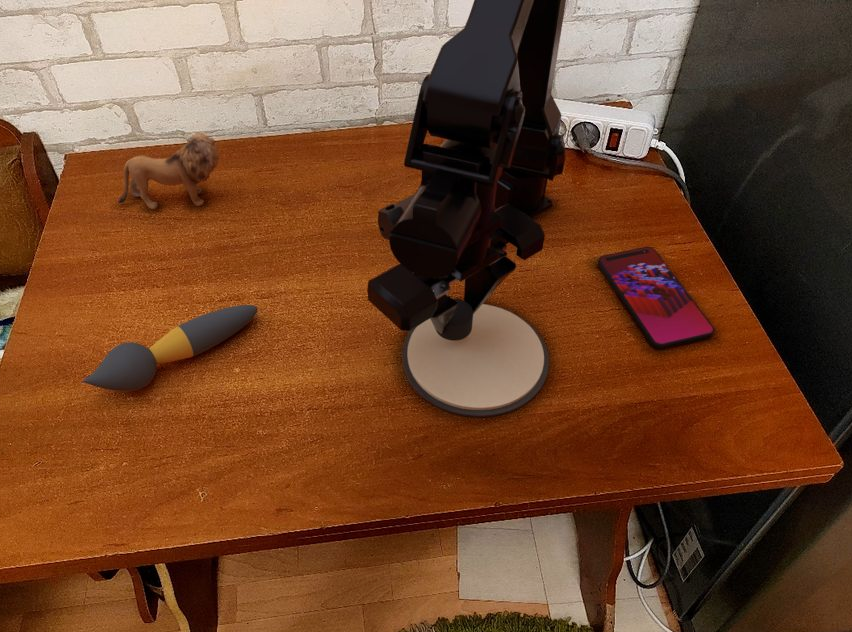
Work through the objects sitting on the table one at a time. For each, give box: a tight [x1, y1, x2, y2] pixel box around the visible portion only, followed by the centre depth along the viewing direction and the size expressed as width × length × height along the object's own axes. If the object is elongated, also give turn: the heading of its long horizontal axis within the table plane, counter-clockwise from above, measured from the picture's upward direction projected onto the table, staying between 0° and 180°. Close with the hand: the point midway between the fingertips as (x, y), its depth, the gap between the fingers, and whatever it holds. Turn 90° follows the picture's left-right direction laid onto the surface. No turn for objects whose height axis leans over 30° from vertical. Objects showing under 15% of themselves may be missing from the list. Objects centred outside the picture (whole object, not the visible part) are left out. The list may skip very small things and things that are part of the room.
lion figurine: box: [117, 132, 220, 210], centre depth 90 cm, size 15×5×9 cm, turn 103°
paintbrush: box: [81, 304, 259, 392], centre depth 74 cm, size 20×5×5 cm, turn 134°
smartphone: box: [597, 246, 716, 350], centre depth 80 cm, size 8×1×15 cm
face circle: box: [401, 303, 550, 418], centre depth 75 cm, size 16×16×1 cm
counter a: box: [436, 298, 473, 341], centre depth 74 cm, size 4×4×2 cm
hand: (454, 321), depth 74 cm, fingers closed on counter a, 4 cm apart
